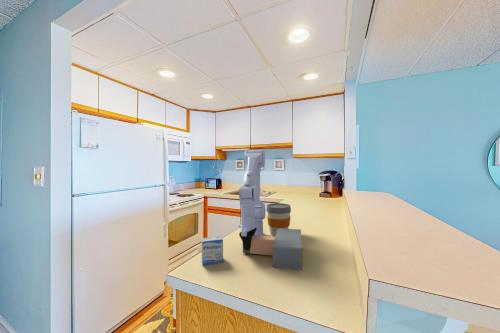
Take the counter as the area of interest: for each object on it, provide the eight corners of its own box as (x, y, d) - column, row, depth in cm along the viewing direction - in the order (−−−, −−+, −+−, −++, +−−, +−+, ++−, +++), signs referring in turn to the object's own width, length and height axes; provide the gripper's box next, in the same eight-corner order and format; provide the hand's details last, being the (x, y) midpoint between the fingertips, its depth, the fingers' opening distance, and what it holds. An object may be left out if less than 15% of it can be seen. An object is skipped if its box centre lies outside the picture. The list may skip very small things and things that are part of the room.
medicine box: (202, 265, 73) (201, 241, 73) (201, 260, 78) (201, 237, 77) (223, 262, 75) (223, 239, 75) (222, 257, 80) (221, 235, 80)
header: (278, 245, 90) (278, 228, 90) (301, 246, 88) (300, 229, 88) (272, 267, 71) (272, 245, 71) (301, 270, 69) (301, 248, 69)
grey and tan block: (245, 248, 86) (245, 234, 86) (278, 251, 82) (278, 236, 82) (242, 252, 82) (242, 237, 82) (277, 255, 79) (277, 240, 79)
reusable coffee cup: (290, 230, 110) (289, 203, 110) (292, 239, 97) (292, 208, 97) (267, 230, 111) (266, 203, 111) (266, 238, 99) (266, 208, 99)
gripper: (243, 210, 91) (243, 240, 91) (233, 219, 77) (234, 254, 77) (258, 211, 90) (259, 241, 90) (251, 220, 75) (251, 256, 76)
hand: (248, 247), depth 83 cm, fingers closed on grey and tan block, 4 cm apart
